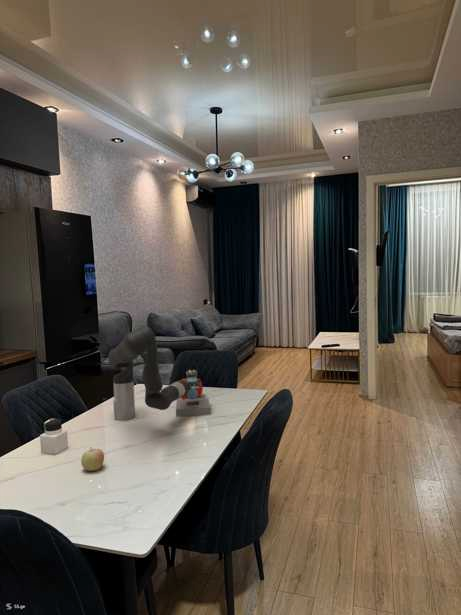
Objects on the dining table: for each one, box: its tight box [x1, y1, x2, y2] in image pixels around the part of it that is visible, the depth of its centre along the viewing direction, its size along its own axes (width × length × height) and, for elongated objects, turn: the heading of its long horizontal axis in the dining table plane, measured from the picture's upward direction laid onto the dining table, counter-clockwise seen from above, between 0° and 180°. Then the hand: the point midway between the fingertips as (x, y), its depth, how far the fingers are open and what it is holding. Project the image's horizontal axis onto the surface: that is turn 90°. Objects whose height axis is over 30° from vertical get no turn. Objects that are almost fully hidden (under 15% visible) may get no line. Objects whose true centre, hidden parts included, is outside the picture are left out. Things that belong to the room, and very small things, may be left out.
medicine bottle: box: [39, 418, 69, 456], centre depth 163 cm, size 7×7×12 cm
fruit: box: [80, 448, 105, 472], centre depth 146 cm, size 8×7×8 cm
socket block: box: [175, 397, 211, 418], centre depth 206 cm, size 16×16×4 cm
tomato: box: [181, 377, 204, 399], centre depth 228 cm, size 14×13×10 cm
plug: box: [185, 369, 198, 399], centre depth 205 cm, size 5×5×14 cm
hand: (194, 381), depth 208 cm, fingers closed on plug, 4 cm apart
